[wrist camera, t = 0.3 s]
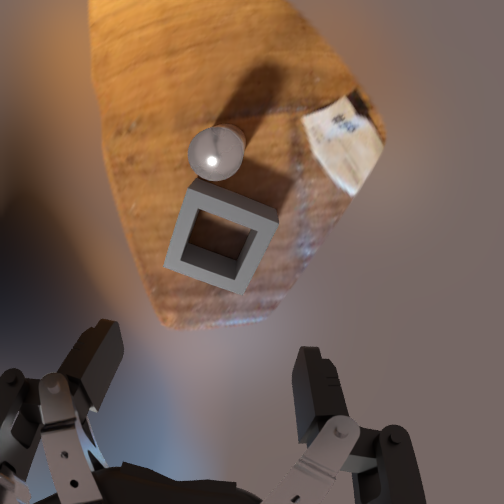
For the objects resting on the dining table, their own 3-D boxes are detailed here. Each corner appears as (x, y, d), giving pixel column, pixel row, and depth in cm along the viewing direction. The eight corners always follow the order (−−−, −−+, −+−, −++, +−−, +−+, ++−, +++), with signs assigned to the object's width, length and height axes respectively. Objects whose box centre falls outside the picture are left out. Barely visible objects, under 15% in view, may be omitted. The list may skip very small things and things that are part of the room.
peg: (214, 117, 25) (199, 119, 18) (252, 132, 25) (251, 139, 18) (200, 154, 26) (180, 170, 19) (236, 167, 27) (230, 188, 20)
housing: (196, 177, 28) (187, 188, 24) (276, 209, 29) (279, 223, 26) (172, 248, 31) (163, 266, 28) (243, 275, 33) (242, 295, 30)
